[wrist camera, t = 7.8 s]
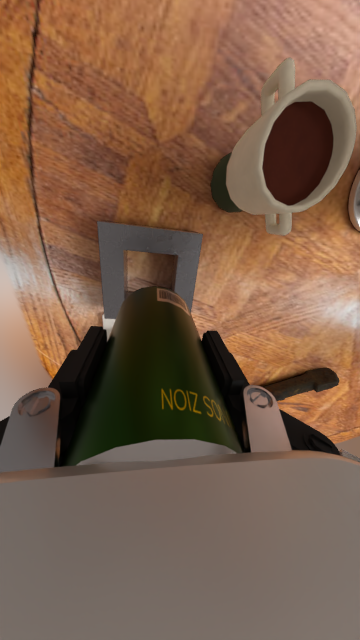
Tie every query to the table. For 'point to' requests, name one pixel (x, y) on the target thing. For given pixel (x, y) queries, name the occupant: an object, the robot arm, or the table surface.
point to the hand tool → (304, 383)
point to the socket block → (145, 239)
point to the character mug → (288, 150)
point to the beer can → (152, 390)
